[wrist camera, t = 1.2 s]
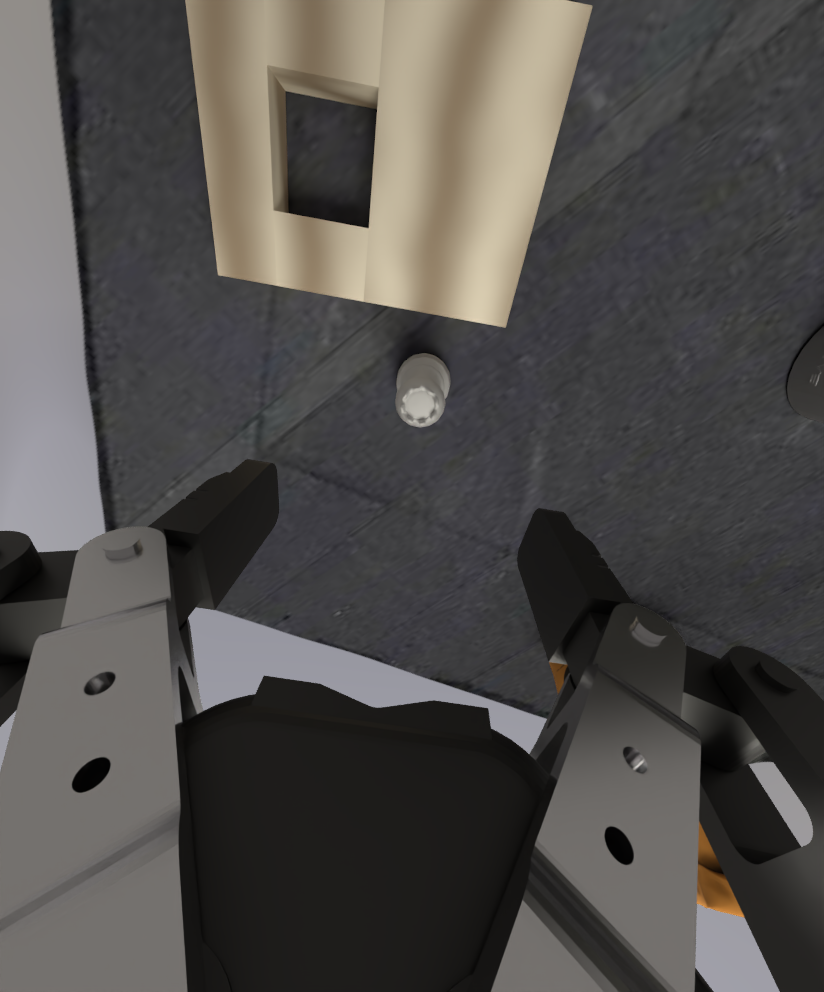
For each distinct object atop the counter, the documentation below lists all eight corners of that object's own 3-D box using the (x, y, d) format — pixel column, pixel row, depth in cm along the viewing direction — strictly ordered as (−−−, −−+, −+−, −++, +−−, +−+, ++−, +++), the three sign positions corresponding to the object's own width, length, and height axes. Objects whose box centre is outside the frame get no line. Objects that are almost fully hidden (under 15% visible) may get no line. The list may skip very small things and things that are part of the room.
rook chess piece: (385, 380, 28) (369, 405, 21) (424, 339, 26) (420, 352, 19) (422, 418, 29) (418, 453, 22) (461, 382, 27) (470, 408, 20)
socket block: (573, 41, 18) (592, 5, 16) (499, 325, 25) (505, 327, 23) (207, -35, 17) (175, -83, 15) (237, 277, 25) (218, 274, 22)
